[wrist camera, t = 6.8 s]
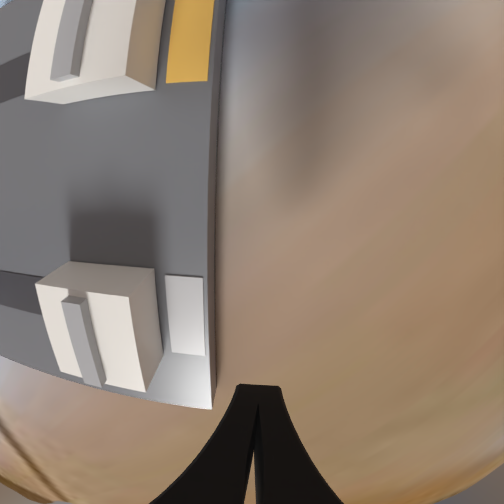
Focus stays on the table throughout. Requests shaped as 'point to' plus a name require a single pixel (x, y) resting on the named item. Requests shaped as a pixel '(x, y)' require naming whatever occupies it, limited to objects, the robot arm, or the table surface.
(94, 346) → the slider
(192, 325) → the switch panel
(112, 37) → the slider
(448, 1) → the table surface
